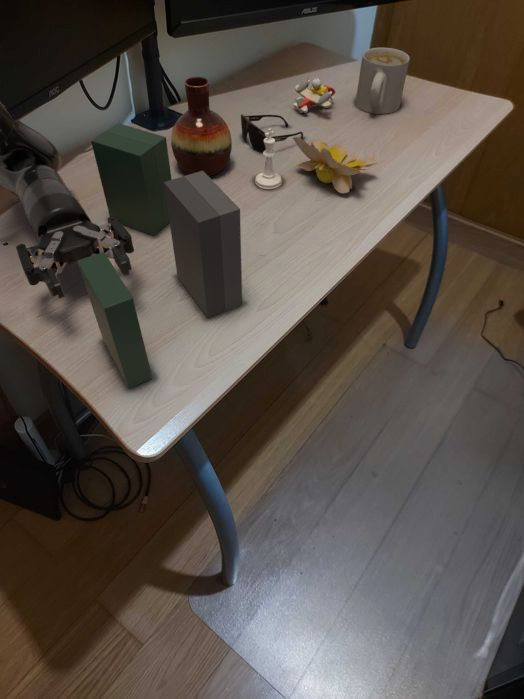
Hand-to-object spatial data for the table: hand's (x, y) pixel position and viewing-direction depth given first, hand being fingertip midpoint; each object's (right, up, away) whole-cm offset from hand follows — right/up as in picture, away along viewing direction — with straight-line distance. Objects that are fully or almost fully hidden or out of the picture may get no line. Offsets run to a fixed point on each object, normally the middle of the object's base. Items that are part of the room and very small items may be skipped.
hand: (94, 281), depth 65 cm
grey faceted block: (+13, 0, +11) cm, 17 cm away
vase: (+10, +26, +34) cm, 44 cm away
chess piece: (+22, +22, +30) cm, 44 cm away
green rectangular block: (+1, +14, +22) cm, 26 cm away
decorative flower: (+35, +23, +31) cm, 52 cm away
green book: (+4, -10, +2) cm, 11 cm away
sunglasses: (+23, +34, +41) cm, 58 cm away
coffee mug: (+47, +46, +51) cm, 83 cm away
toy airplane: (+32, +45, +50) cm, 74 cm away
